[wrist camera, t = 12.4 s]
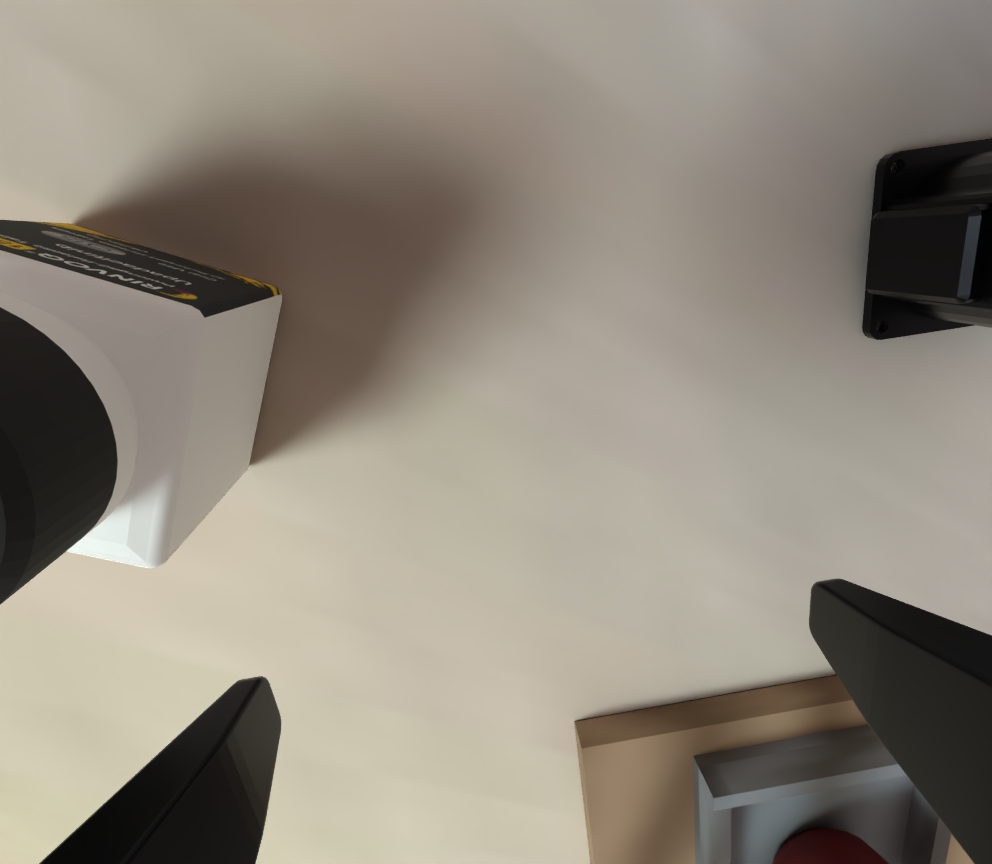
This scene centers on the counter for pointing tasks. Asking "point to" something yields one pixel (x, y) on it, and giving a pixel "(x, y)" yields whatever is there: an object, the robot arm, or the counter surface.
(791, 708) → the tray stand
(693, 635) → the counter surface
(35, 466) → the medicine bottle
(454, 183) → the counter surface
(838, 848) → the cocoa
